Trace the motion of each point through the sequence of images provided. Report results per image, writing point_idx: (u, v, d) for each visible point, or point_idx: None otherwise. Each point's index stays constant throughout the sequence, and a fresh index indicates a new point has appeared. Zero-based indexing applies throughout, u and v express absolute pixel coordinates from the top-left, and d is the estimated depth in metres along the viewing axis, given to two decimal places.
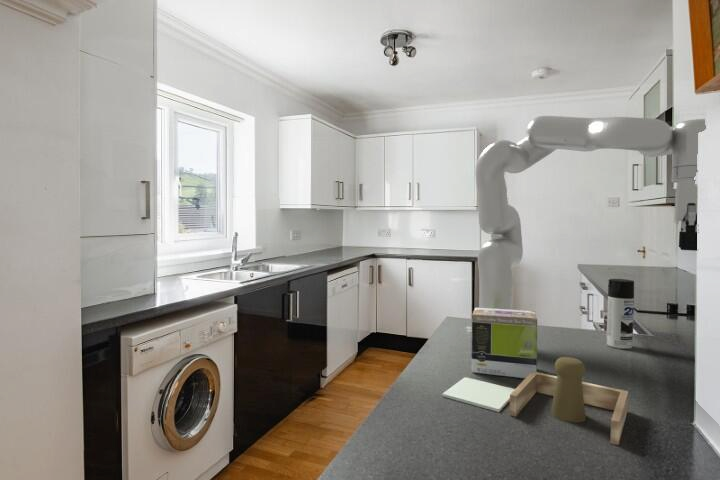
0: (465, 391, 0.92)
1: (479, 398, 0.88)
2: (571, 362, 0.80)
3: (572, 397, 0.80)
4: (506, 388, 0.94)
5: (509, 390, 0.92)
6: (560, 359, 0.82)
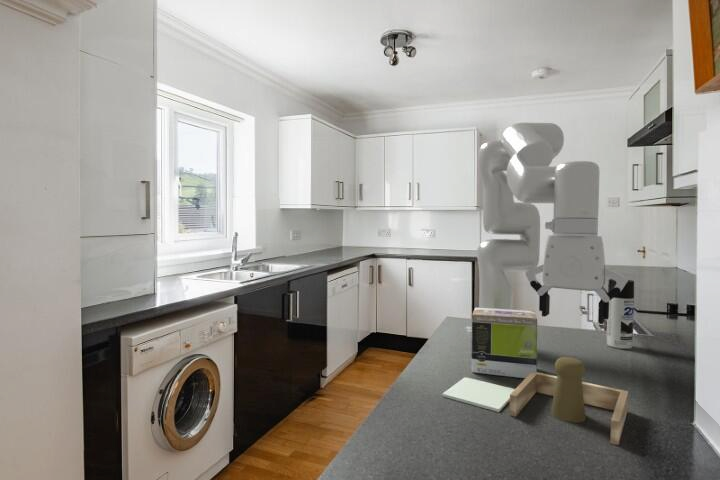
0: (465, 391, 0.92)
1: (479, 398, 0.88)
2: (571, 363, 0.80)
3: (572, 397, 0.80)
4: (506, 388, 0.94)
5: (509, 390, 0.92)
6: (560, 359, 0.82)
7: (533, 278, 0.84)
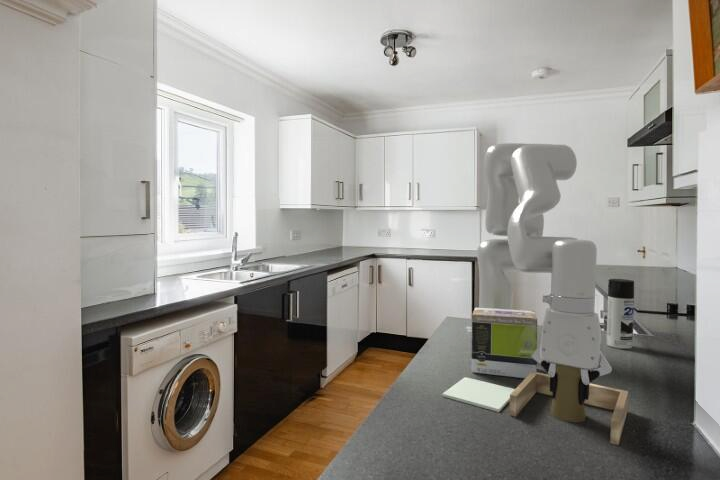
0: (465, 391, 0.92)
1: (479, 398, 0.88)
2: None
3: (572, 397, 0.80)
4: (506, 388, 0.94)
5: (509, 390, 0.92)
6: None
7: (541, 358, 0.84)
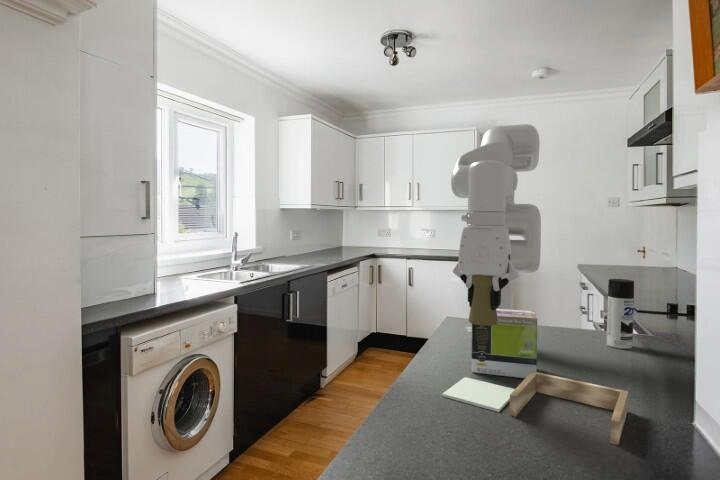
0: (465, 391, 0.92)
1: (479, 398, 0.88)
2: None
3: (484, 303, 0.88)
4: (506, 388, 0.94)
5: (509, 390, 0.92)
6: None
7: (460, 272, 0.93)
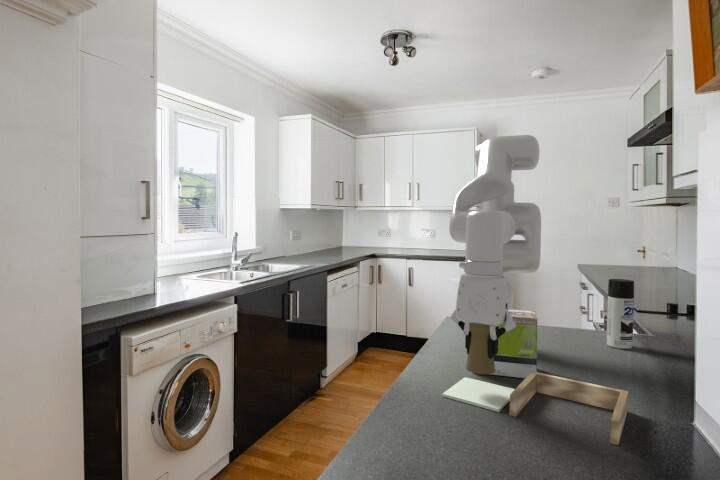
0: (465, 391, 0.92)
1: (479, 398, 0.88)
2: None
3: (481, 351, 0.89)
4: (506, 388, 0.94)
5: (509, 390, 0.92)
6: None
7: (458, 319, 0.93)
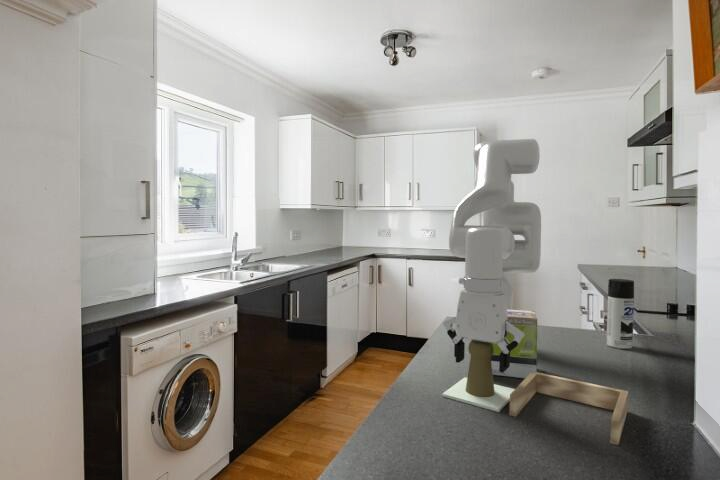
0: (465, 391, 0.92)
1: (479, 398, 0.88)
2: (481, 344, 0.89)
3: (481, 374, 0.89)
4: (506, 388, 0.94)
5: (509, 390, 0.92)
6: (472, 341, 0.91)
7: (449, 327, 0.95)
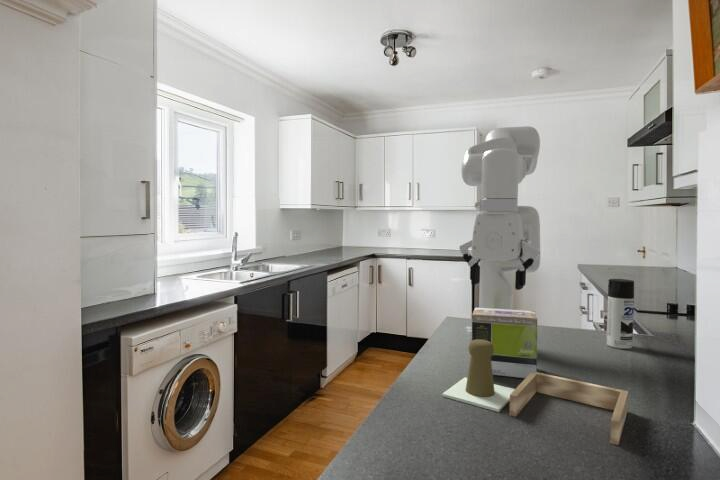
0: (465, 391, 0.92)
1: (479, 398, 0.88)
2: (481, 344, 0.89)
3: (481, 374, 0.89)
4: (506, 388, 0.94)
5: (509, 390, 0.92)
6: (473, 341, 0.91)
7: (465, 251, 0.97)
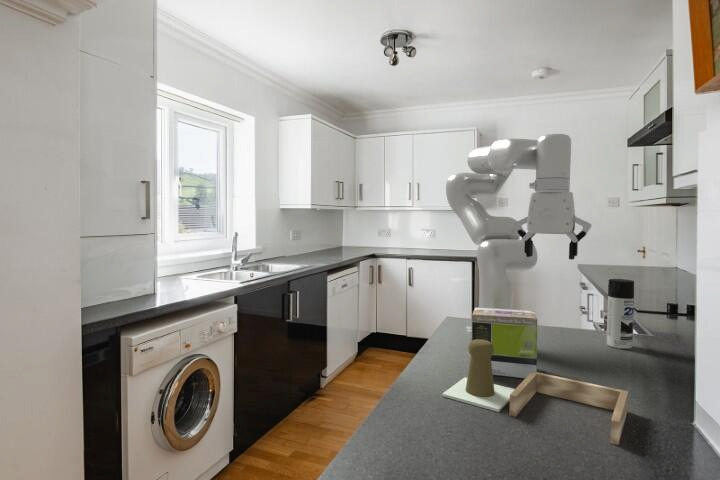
0: (465, 391, 0.92)
1: (479, 398, 0.88)
2: (481, 344, 0.89)
3: (481, 374, 0.89)
4: (506, 388, 0.94)
5: (509, 390, 0.92)
6: (472, 341, 0.91)
7: (520, 227, 1.07)
